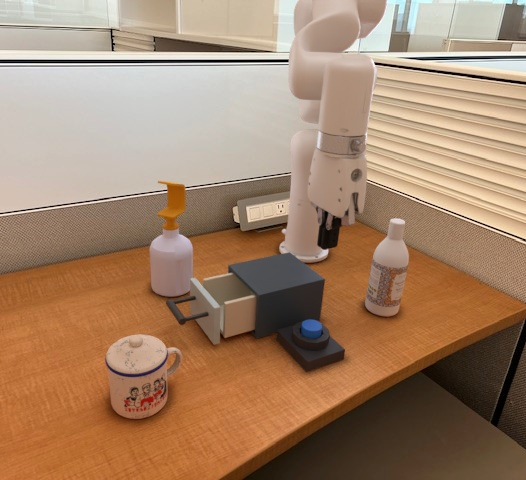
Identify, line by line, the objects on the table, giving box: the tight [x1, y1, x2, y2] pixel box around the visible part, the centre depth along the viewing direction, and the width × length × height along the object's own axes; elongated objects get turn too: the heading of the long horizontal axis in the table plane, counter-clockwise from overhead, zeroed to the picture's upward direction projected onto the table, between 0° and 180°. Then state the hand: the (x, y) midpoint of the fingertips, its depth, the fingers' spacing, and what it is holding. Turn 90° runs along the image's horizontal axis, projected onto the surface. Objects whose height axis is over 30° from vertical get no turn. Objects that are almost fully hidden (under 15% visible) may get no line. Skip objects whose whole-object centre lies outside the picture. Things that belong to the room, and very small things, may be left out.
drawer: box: [165, 272, 257, 346], centre depth 91 cm, size 19×11×8 cm, turn 117°
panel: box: [275, 321, 346, 373], centre depth 87 cm, size 10×8×4 cm
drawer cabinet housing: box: [227, 252, 326, 340], centre depth 96 cm, size 15×13×10 cm
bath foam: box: [364, 217, 410, 317], centre depth 97 cm, size 7×7×20 cm
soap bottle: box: [149, 180, 194, 298], centre depth 101 cm, size 9×9×25 cm
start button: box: [301, 319, 322, 339], centre depth 86 cm, size 4×4×2 cm
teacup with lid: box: [104, 333, 183, 420], centre depth 73 cm, size 12×9×12 cm
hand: (327, 246), depth 83 cm, fingers closed
